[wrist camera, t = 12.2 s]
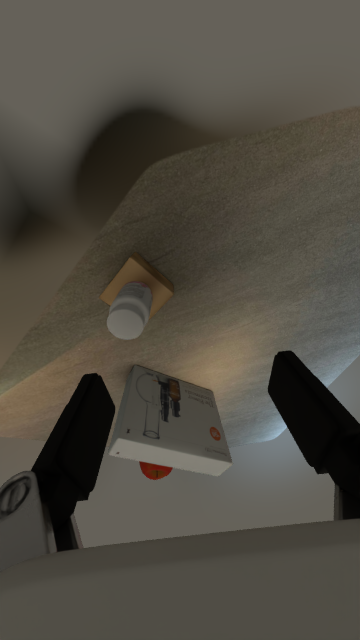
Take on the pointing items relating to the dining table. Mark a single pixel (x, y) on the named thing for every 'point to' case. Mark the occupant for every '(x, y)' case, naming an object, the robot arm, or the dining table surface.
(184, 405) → the skincare box
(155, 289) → the block
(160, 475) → the apple
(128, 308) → the pill bottle
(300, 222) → the dining table surface
